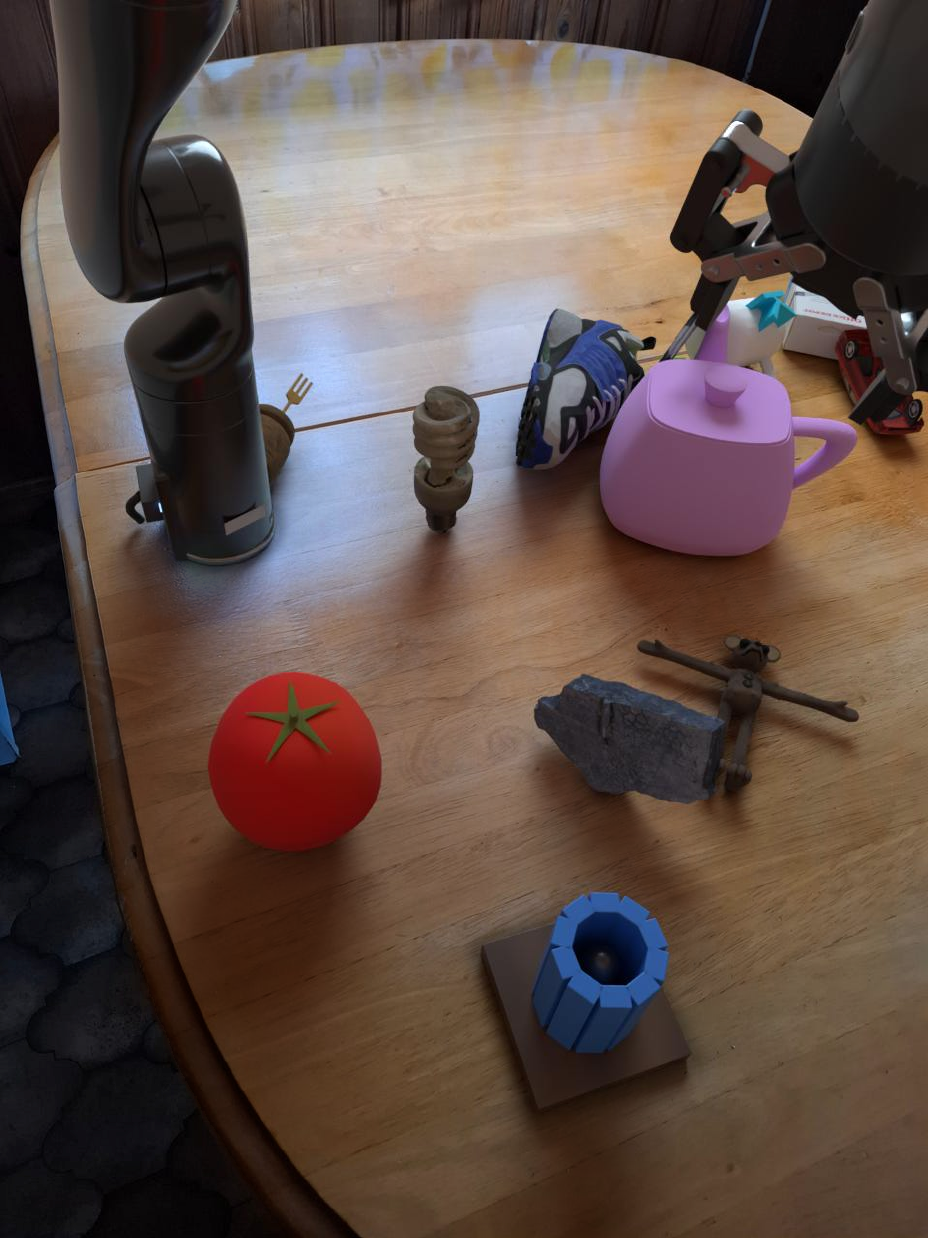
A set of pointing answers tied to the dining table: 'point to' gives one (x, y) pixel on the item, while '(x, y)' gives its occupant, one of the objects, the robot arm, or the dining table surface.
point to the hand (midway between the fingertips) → (784, 360)
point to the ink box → (815, 323)
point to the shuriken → (680, 338)
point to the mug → (752, 331)
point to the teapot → (710, 454)
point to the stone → (634, 740)
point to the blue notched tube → (580, 1000)
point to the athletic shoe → (575, 386)
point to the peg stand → (564, 1071)
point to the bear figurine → (745, 694)
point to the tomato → (294, 762)
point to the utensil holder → (279, 430)
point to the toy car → (862, 371)
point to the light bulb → (444, 453)
